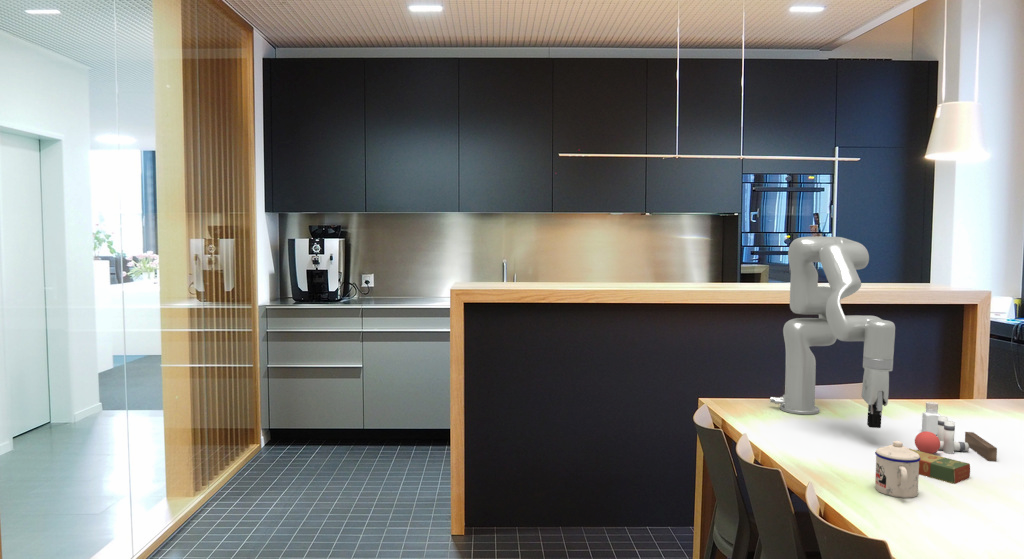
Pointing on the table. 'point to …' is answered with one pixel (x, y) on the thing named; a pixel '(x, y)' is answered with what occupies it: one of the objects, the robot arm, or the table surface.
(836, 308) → the robot arm
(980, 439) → the rail
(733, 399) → the table surface
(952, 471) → the carton
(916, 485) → the teacup with lid
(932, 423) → the salt shaker
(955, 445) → the pin front
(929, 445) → the ball
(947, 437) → the pin rear right
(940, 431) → the pin rear left
